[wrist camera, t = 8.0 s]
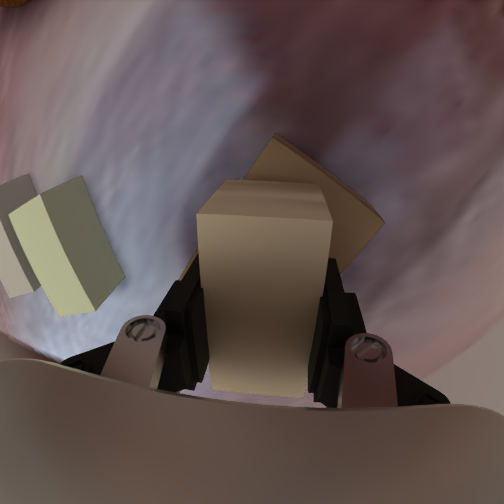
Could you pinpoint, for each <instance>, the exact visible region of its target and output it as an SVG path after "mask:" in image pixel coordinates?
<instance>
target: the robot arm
mask: <svg viewBox="0 0 504 504" xmlns="http://www.w3.org/2000/svg"><path fill="white" fill-rule="evenodd" d="M209 359H210V356H209V347H208V337H207V326H206V315H205V304H204V291H203V288H201V279H200V266H199V252H198V254H197V255H196V257H195V259H194V260H193V262H192V264H191V265H190V267H189V268H188V270H187V272H186V273H185V275H184V277H183V278H182V280H176V281H175V282H174V283H173V285H172V287H171V288H170V290H169V291H168V293H167V295H166V296H165V298H164V299H163V301H162V303H161V304H160V306H159V307H158V309H157V311H156V312H155V314H154V316H150V315H142V316H138V317H134V318H132V319H130V320H128V321H127V322H126V323H125V324H124V325H123V326H122V328H121V330H120V332H119V334H118V336H117V338H116V341H115V342H112V343H109V344H107V345H104V346H101V347H98V348H95V349H92V350H90V351H87V352H84V353H81V354H78V355H75V356H72V357H70V358H68V359H66V360H64V361H63V362H61V363H60V364H56V363H52V362H47V361H43V360H36V359H9V360H4V361H1V362H0V504H504V416H503V415H502V414H500V413H498V412H496V411H494V410H491V409H488V408H484V407H479V406H474V405H464V404H450V401H449V400H448V398H447V397H446V396H445V395H444V394H442V393H441V392H439V391H438V390H436V389H434V388H433V387H431V386H429V385H428V384H426V383H424V382H423V381H421V380H419V379H418V378H416V377H414V376H413V375H411V374H409V373H408V372H406V371H404V370H403V369H401V368H399V367H398V366H396V365H395V364H394V363H393V355H392V350H391V347H390V345H389V344H388V343H387V341H385V340H384V339H382V338H381V337H379V336H376V335H373V334H369V333H367V332H366V329H365V325H364V321H363V318H362V314H361V311H360V307H359V304H358V300H357V297H356V294H355V293H344V289H343V285H342V281H341V277H340V273H339V269H338V265H337V262H336V259H335V258H328V263H327V270H326V277H325V284H324V290H323V296H322V297H320V302H319V308H318V314H317V320H316V326H315V331H314V337H313V342H312V347H311V353H310V358H309V363H308V393H314V402H321V403H322V404H324V405H325V406H326V407H327V408H310V407H290V406H275V405H262V404H252V403H242V402H233V401H225V400H218V399H211V398H204V397H198V396H191V395H186V394H180V391H181V390H183V389H188V390H195V387H196V384H197V382H200V383H201V382H202V381H203V378H204V375H205V372H206V369H207V366H208V362H209Z"/></svg>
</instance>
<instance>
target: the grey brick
mask: <svg viewBox="0 0 504 504" xmlns="http://www.w3.org/2000/svg"><path fill="white" fill-rule="evenodd" d="M36 196H37V194H36V191H35V189H34V186H33V183H32V180H31V177H30V174H27V175H24V176H21V177H19V178H16V179H14V180H12V181H9V182H7V183H4V184H2V185H0V280H1V282H2V284H3V286H4V288H5V290H6V291H7V293H8V295H9V297H10V298H13V297H16V296H20V295H24V294H28V293H31V292H34V291H35V290H37V289H38V288H39V287H40V286H41V284H40V282H39V280H38V278H37V277H36V275H35V273H34V271H33V269H32V267H31V265H30V263H29V261H28V259H27V256H26V254H25V252H24V250H23V248H22V246H21V244H20V241H19V239H18V237H17V235H16V232H15V230H14V228H13V225H12V223H11V220H10V218H9V214H10V213H12V212H13V211H14V210H16V209H17V208H19V207H21V206H22V205H24V204H25V203H27V202H28V201H30V200H31V199H33V198H35V197H36Z"/></svg>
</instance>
